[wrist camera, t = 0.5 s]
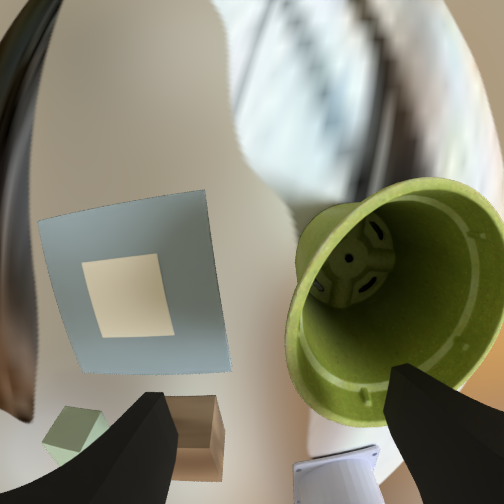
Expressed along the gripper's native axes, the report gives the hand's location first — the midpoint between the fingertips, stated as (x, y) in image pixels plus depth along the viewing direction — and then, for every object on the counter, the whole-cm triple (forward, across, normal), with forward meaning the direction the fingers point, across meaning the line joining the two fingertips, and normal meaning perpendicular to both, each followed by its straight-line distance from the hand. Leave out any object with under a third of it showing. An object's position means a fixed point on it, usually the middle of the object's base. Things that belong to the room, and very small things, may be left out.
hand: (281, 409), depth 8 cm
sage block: (+9, +16, +11) cm, 22 cm away
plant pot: (+9, -5, -2) cm, 11 cm away
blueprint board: (+9, +8, -1) cm, 12 cm away
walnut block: (+9, +6, +9) cm, 14 cm away
